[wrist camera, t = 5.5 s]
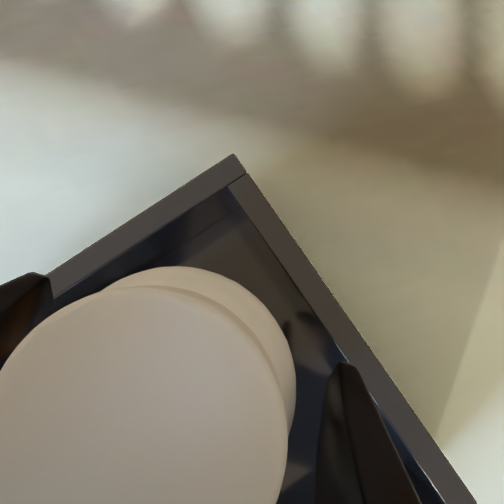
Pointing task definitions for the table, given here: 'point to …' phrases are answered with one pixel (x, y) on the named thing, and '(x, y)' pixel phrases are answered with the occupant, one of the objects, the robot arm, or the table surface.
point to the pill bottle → (149, 397)
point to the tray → (276, 301)
